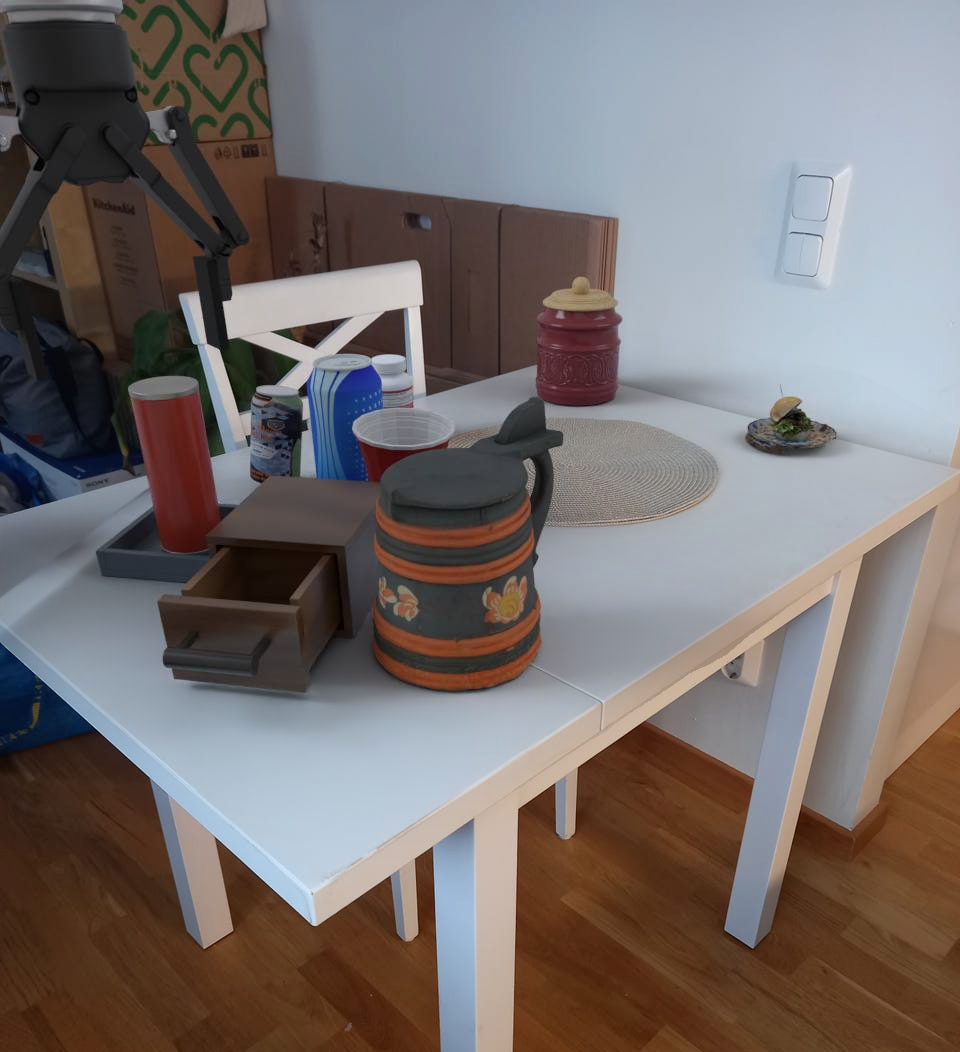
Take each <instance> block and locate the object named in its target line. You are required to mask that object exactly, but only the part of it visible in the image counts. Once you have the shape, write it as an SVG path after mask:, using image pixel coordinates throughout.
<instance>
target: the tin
mask: <svg viewBox="0 0 960 1052" xmlns="http://www.w3.org/2000/svg"><path fill="white" fill-rule="evenodd" d="M127 390H128V394H129V397H130V402H131V407H132V412H133V416H134V420H135V426H136V431H137V436H138V441H139V445H140V450H141V454H142V459H143V464H144V469H145V474H146V479H147V484H148V489H149V493H150V498H151V502H152V506H153V508H154V513H155V518H156V522H157V527H158V532H159V537H160V542H161V549H162V551H163V553H172V554H185V555H198V556H205V555H208V554H209V551H208V545H207V540H206V535H207V534H208V533H209V532H210V531H211V530H212V529H213V528H214V527H216V526H217V525H218V524H219V523H220V522H221V518H220V512H219V506H218V503H219V501H218V495H217V488H216V483H215V477H214V471H213V465H212V458H211V454H210V448H209V447H210V446H209V440H208V435H207V429H206V423H205V418H204V412H203V406H202V400H201V394H200V386H199V381H198V379H196V378H193V377H191V376H184V375H165V376H164V375H163V376H155V377H149V378H144V379H140V380H138V381H135V382H133V383H131V384H129V386H128V388H127Z"/></svg>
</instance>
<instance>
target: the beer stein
mask: <svg viewBox="0 0 960 1052" xmlns="http://www.w3.org/2000/svg"><path fill="white" fill-rule="evenodd" d="M545 406H546V405H545V400H543V399H542V398H540V397H539V396H531V397H529V398H528V399H527V401H524V402H522V403H520V404H518V405H517V406H516V407H515V408H514V409H512V410H511V411H510V412H509V413H508V415H507V417H506V418H505V420H504V421H503V423H502V425H501V427H500V430H499V431H498V433H496V434H493V435H490V436H487V437H483V438H480V439H478V440H477V441H475V442H474V443H473V444H471V446H469V447H447V448H445V449H435V450H429V451H424V452H420V453H417V454H414V455H411V456H408V457H406V458H404V459H402V460H400V461H398V462H396V463H395V464H393V465H392V466H390V467H389V468H388V469H387V470H386V471H385V472H384V473H383V475H382V477H381V481H380V482H381V492H380V495H379V496H378V498H377V500H376V521H375V525H376V528H375V537H374V540H375V544H374V550H375V553H376V555H377V558H378V576H377V594H376V595H375V598H374V602H373V607H372V624H373V625H372V627H373V628H372V629H373V632H372V633H373V635H372V650H373V653H374V656H375V658H376V660H377V661H378V662H379V664H380V665H381V666H382V667H383V668H384V670H385V671H386V672H387V673H389V674H390V675H392V676H393V677H394V678H396V679H397V680H399V681H401V682H404V683H406V684H410V685H413V686H418V687H422V688H426V689H429V690H436V691H445V692H460V691H461V692H462V691H468V690H477V689H478V690H479V689H488V688H492V687H495V686H500V685H504V684H505V683H507V682H511V681H513V680H515V679H516V678H518V677H520V676H521V674H523V672H524V671H525V670H526V669H527V668H529V666H530V664H532V663H533V662H534V660H535V659H536V658H537V656H538V654H539V652H540V649H541V647H542V643H543V641H542V636H541V635H542V634H541V624H540V623H541V609H542V603H541V599H540V596H539V592H538V590H537V588H536V585H535V582H536V581H535V572H534V568H535V566H536V565H537V562H538V560H539V558H540V557H539V554H538V553H537V547H538V543H539V541H540V539H541V535H542V532H543V531H544V527H545V524H546V521H547V518H548V514H549V512H550V508H551V504H552V499H553V493H554V482H555V478H554V477H555V474H554V464H553V460H552V456H551V453H550V450H551V449H554V448H558V447H559V448H560V447H562V446H563V444H564V432H562V431H561V430H555V429H548V428H547V418H546V417H547V416H546V407H545ZM528 459H529V460H530V461H532V463H533V466H534V470H535V471H534V472H535V474H534V484H533V488H532V490H531V494H530V492H529V490H528V488H527V487H526V486H527V484H528V483H529V482H528V481H529V474H528V470H527V468H526V466H525V464H524V461H526V460H528Z"/></svg>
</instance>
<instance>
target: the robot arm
mask: <svg viewBox="0 0 960 1052" xmlns="http://www.w3.org/2000/svg"><path fill="white" fill-rule="evenodd" d="M123 10H124V5H123V1H122V0H0V13H1V14H3V15H7V18H8V21H9V23H7V24H3V26H2V27H3V29H2V30H1V31H0V34H1V39H2V42H3V48H4V51H5V56H6V59H7V65H8V68H9V73H10V77H11V81H12V86H13V90H14V94H15V97H16V111H15V115H3V114H0V163H1V160H2V152H3V153H4V152H7V151H9V149H10V148H11V145H12V139H13V138H14V137H15V136H18V137H19V138H20V140H21V141H22V142H23V143H24V144H25V145H26V146H27V147H28V148H29V149H30V150H31V152H33V154H35V156H36V157H35V159H34V161H33V163H32V165H31V166H30V168H29V171H28V173H27V175H26V177H25V182H24V184H23V186H22V188H21V190H20V192H19V194H18V195H17V198H16V199H15V200H14V203H13V204H12V206H11V209H10V211H9V212H8V214H7V216H6V218H5V219H4V222H3V224H2V225H1V227H0V326H1V328H2V329H3V330H4V331H5V332H7V333H8V332H16V334H17V338H18V342H19V346H20V349H21V353H22V357H23V360H24V364H25V368H26V371H27V374H28V375H30V376H31V377H32V378H33V379H34V380H36V381H37V382H40V381H44V380H49V374H48V370H47V367H46V363H45V359H44V355H43V351H42V346H41V343H40V339H39V335H38V331H37V327H36V323H35V320H34V316H33V312H32V307H31V304H30V300H29V296H28V292H27V288H26V284H25V281H24V280H22V279H20V278H18V277H16V276H15V275H14V276H11V275H12V273H13V271H14V270H15V268H16V265H17V264H18V262H19V260H20V258H21V256H22V255H23V253H24V250H25V249H26V247H27V245H28V244H29V241H30V240H31V238H32V236H33V234H34V232H35V230H36V228H37V227H38V225H39V223H40V221H41V218H42V217H43V215H44V213H45V212H46V210H47V208H48V206H49V204H50V202H51V200H52V199H53V197H54V196H55V195H56V194H57V193H58V191H59V190H60V188H61V186H62V184H63V183H65V184H68V185H72V186H76V187H81V186H84V187H85V186H91V185H94V184H95V183H99V182H102V183H107V184H113V185H114V184H124V183H125V181H126V180H128V179H129V180H130V181H131V182H132V183H134V184H135V185H136V186H138V188H140V189H141V190H142V191H143V192H144V193H145V194H146V195H147V196H148V197H149V198H150V199H151V201H153V202H154V203H155V204H156V205H157V206H158V207H159V208H160V210H161V211H163V213H165V215H167V216H168V217H169V218H170V220H171V221H172V222H174V223H175V225H176V226H177V227H178V228H179V229H180V230H182V231H183V233H185V234H186V236H187V237H188V238H189V239H190V240H191V241H192V242H193V243H194V244H195V245H196V246H198V247H199V248H200V250H201V251H202V252H203V254H204V255H193V256H192V261H193V266H194V274H195V279H196V285H197V291H198V297H199V303H200V310H201V315H202V322H203V328H204V333H205V340H206V344H207V345H208V346H211V347H213V348H215V349H217V350H219V351H223V350H230V348H231V347H230V342H229V341H230V340H229V334H228V328H227V321H226V316H225V308H224V302H229V301H232V297H233V286H232V281H231V274H230V273H231V272H230V267H229V258H231V257H232V256H233V252H234V250H235V249H237V248H238V247H241V246H246V245H247V244H248V243H249V241H250V234H249V231H248V230H247V228H246V226H245V224H244V222H243V221H242V219H241V218H240V216H239V214H238V212H237V211H236V209H235V208H234V206H233V204H232V202H231V200H230V199H229V197H228V195H227V194H226V191H224V188H223V187H222V186H221V184H220V182H219V180H218V178H217V177H216V175H215V174H214V171H213V170H212V168H211V166H210V165H209V163H208V161H207V160H206V158H205V156H204V154H203V153H202V151H201V150H200V148H199V146H198V144H197V142H196V140H195V136H194V132H193V127H192V124H191V121H190V116H189V113H188V110H187V109H185V107H183V106H181V105H164V106H161V108H160V109H158V110H157V109H156V110H150V111H145V110H144V108H143V107H142V104H141V102H140V99H139V95H138V87H137V80H136V76H135V70H134V63H133V59H132V53H131V47H130V41H129V36H128V31H127V30H124V27H123V25H122V24H117V22H116V16H118V15H120V14H121V13H122V11H123ZM151 131H152V132H154V134H155V135H156V138H157V139H158V140H159V141H160V142H161V143H163V144H166V145H167V148H168V150H169V152H170V154H171V155H172V157H173V159H174V160H175V163H176V164H177V165H178V167H179V169H180V170H181V172H182V173H183V175H184V176H185V178H186V180H187V182H188V184H189V185H190V187H191V188H192V190H193V192H194V193H195V195H196V197H197V198H198V200H199V202H200V203H201V204H202V206H203V209H205V212H206V213H207V215H208V216H209V218H210V219H211V222H212V223H213V224H214V226H215V228H216V229H217V231H216V230H215V229H214V228H213V227H212V226H211V225H210V224H209V223H208V222H207V221H206V220H205V218H203V217H202V216H201V214H199V212H197V211H196V210H195V208H194V207H192V205H191V204H190V203H189V202H188V201H187V200H186V199H185V198H184V197H183V196H182V195H181V194H180V193H179V192H178V190H177V189H176V188H174V186H173V185H171V184H170V182H169V181H168V180H167V179H166V178H165V177H164V176H163V175H162V173H161V171H160V169H158V168H157V166H155V164H154V163H153V162H152V161H151V160H150V159H149V158H148V157H147V156H146V155H145V154H144V153H143V149H144V146H145V144H146V143H147V140H148V138H149V135H150V133H151Z"/></svg>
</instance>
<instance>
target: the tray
mask: <svg viewBox="0 0 960 1052" xmlns="http://www.w3.org/2000/svg"><path fill="white" fill-rule="evenodd" d="M238 505H239V504H233V503H219V502H218V506H219V512H220V518H221V521H222V520H223V519H224V518H225V517H226V516H227V515H228V514H229V513H231V512H232V511H233V510H234V509H235V508H236V507H237V506H238ZM95 554H96V558H97V563H98V566H99V570H100V574H101V576H102V577H103V576H104V577H114V578H124V579H125V578H127V579H138V580H149V581H161V582H162V581H163V582H173V583H185V584H186V583H187V582H188V581H189V580H190V579H191V578H192V577H194V576H195V575H196V574H197V573H198V572H199V571H200V570H201V569H202V568H203V567H204V566H205V565H206V564H207V563H208V562H209V561H210V556H209V554H208V555H205V556H198V555H185V554H172V553H163V551H162V549H161V542H160V537H159V532H158V527H157V522H156V518H155V513H154V508H153V505H152V506H151V507H149V508H148V509H147V510H146V511H144V512H143V513H142V514H141V515H139V516H138V517H137V518H135V519H134V520H133V521H131V522H130V523H129V524H128V525H127V526H126V527H124V528H123V529H122V530H120V531H119V532H118V533H116V534H115V535H114V536H113V537H111V538H110V539H109V540H107V541H106V542H104V544H102V545H101V546H99V548H97V549H96V550H95Z"/></svg>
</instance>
